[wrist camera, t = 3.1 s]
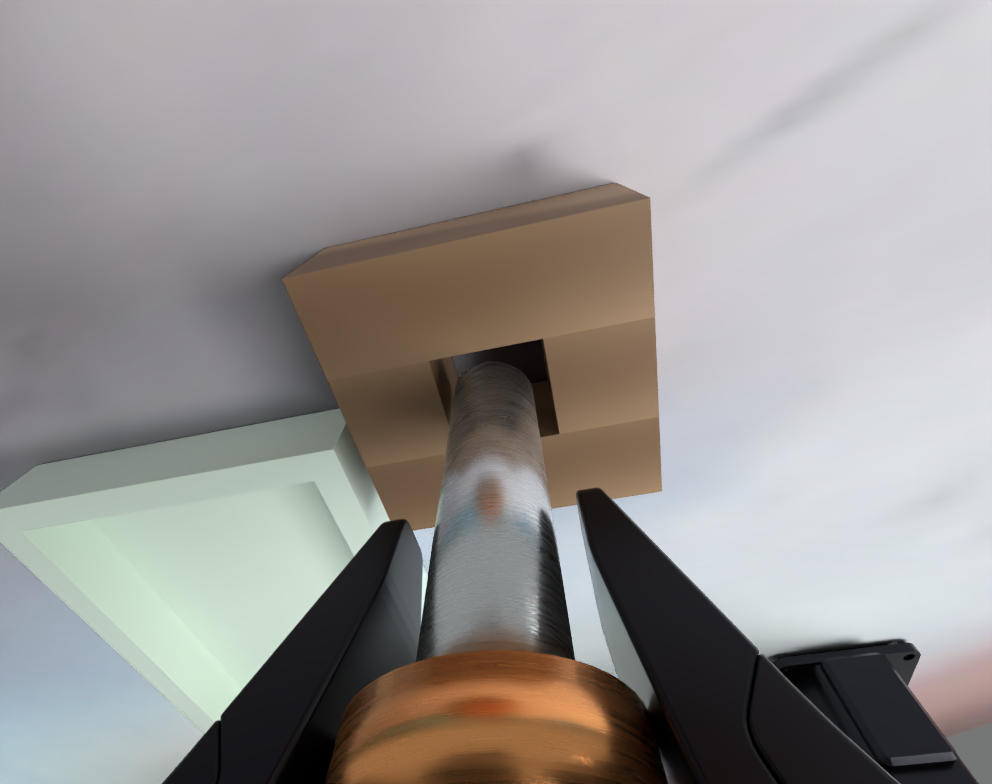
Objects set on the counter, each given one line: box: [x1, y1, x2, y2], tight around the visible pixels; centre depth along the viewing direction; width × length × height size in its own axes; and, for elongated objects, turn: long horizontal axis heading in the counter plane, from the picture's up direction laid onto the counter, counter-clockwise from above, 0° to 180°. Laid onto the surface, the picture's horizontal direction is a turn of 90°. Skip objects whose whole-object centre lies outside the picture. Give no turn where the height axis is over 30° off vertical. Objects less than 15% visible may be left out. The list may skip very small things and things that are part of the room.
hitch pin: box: [325, 362, 668, 784], centre depth 8 cm, size 3×3×8 cm
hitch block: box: [282, 183, 662, 530], centre depth 13 cm, size 8×8×3 cm
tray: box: [0, 408, 428, 734], centre depth 19 cm, size 16×12×2 cm
